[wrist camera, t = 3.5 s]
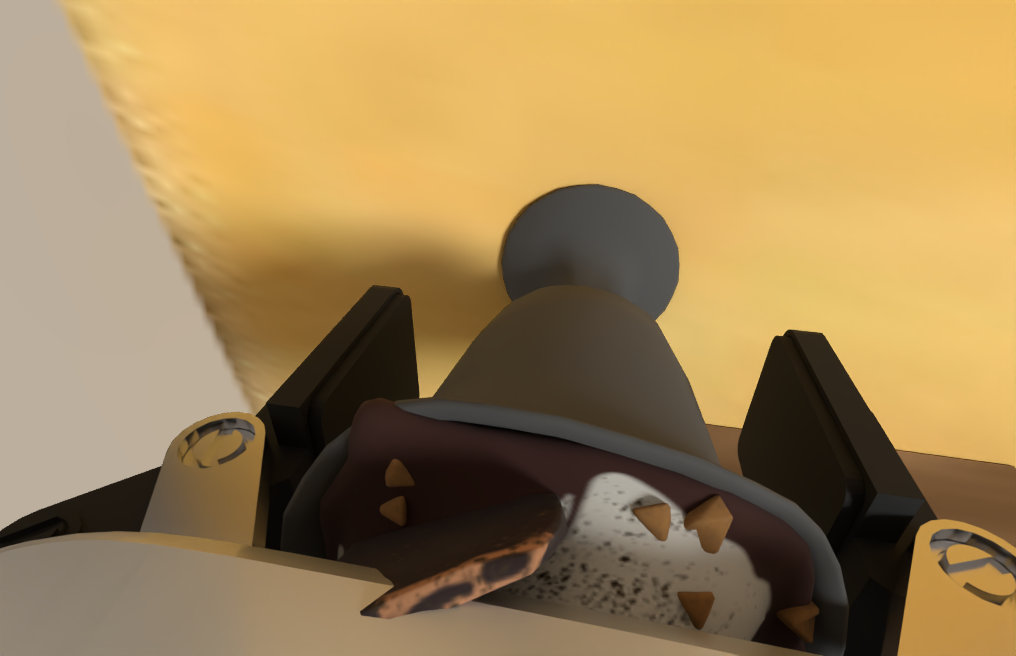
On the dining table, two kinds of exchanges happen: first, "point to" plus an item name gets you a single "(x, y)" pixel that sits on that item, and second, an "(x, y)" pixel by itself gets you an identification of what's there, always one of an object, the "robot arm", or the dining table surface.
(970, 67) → the dining table surface
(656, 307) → the sundae
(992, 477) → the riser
